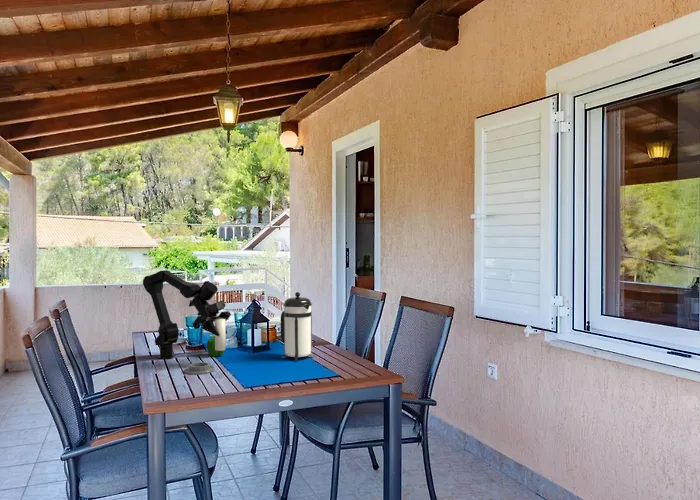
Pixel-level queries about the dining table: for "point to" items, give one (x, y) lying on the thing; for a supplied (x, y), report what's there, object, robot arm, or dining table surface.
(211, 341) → the bell pepper
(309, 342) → the coffee press
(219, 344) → the candle
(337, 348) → the dining table surface
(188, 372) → the holder
